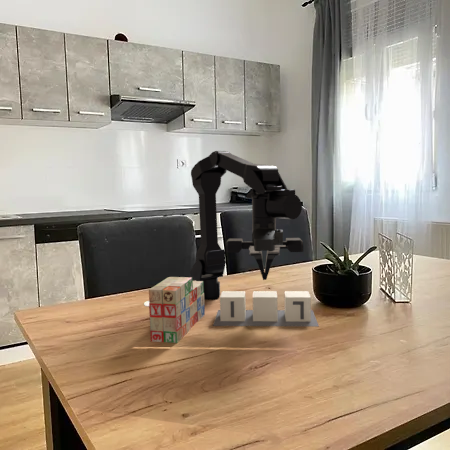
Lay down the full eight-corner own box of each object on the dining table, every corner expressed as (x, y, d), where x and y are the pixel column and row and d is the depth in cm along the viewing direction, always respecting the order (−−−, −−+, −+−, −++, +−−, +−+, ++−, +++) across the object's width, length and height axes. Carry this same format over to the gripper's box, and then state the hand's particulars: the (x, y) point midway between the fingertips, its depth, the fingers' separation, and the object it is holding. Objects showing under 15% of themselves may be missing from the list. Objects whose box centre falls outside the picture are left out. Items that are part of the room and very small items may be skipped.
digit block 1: (220, 321, 111) (219, 297, 110) (222, 313, 117) (222, 291, 116) (244, 321, 110) (244, 297, 110) (245, 313, 116) (245, 291, 116)
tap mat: (212, 327, 107) (212, 325, 107) (218, 311, 120) (218, 309, 120) (318, 327, 105) (318, 326, 105) (312, 311, 118) (312, 310, 118)
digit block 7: (285, 321, 109) (285, 297, 109) (284, 314, 115) (284, 291, 115) (310, 321, 109) (310, 297, 108) (308, 314, 115) (308, 291, 114)
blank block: (253, 321, 110) (252, 297, 110) (253, 313, 116) (253, 291, 115) (277, 321, 110) (277, 297, 109) (276, 314, 116) (276, 291, 115)
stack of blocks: (182, 314, 118) (180, 268, 117) (205, 316, 117) (204, 269, 116) (150, 344, 98) (148, 288, 97) (177, 345, 96) (175, 289, 95)
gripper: (223, 220, 103) (224, 287, 105) (305, 219, 102) (305, 287, 103) (226, 216, 114) (228, 277, 116) (301, 215, 113) (301, 276, 114)
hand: (264, 279), depth 112 cm, fingers closed
